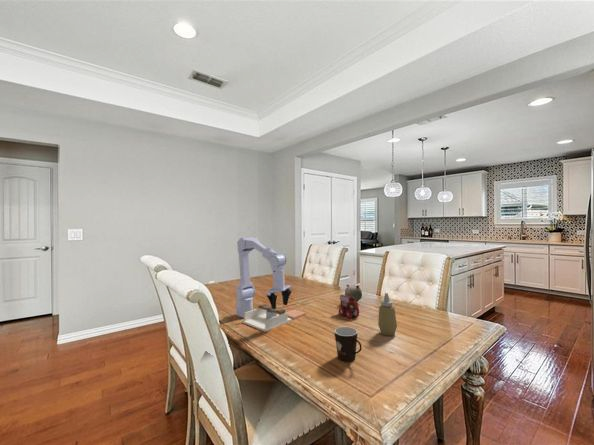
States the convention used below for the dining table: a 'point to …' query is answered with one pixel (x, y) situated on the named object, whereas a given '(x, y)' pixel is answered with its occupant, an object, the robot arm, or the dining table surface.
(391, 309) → the squeeze bottle
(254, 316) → the puzzle board
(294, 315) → the salmon pink tile
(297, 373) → the dining table surface
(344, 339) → the coffee mug
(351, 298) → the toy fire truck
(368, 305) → the dining table surface
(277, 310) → the sliding bar
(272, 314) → the slate block
